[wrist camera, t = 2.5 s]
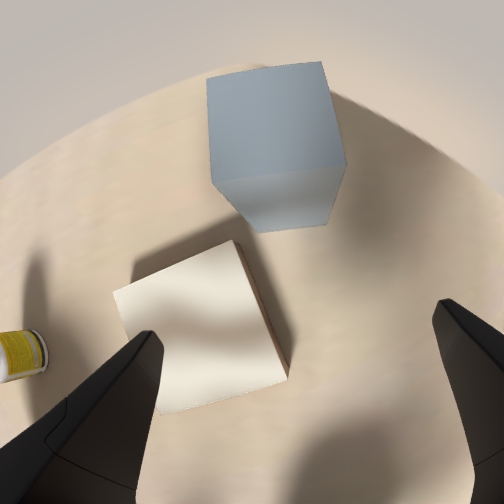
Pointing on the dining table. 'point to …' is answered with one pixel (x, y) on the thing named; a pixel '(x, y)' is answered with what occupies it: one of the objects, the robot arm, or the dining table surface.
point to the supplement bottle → (21, 355)
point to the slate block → (276, 145)
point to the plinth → (205, 329)
